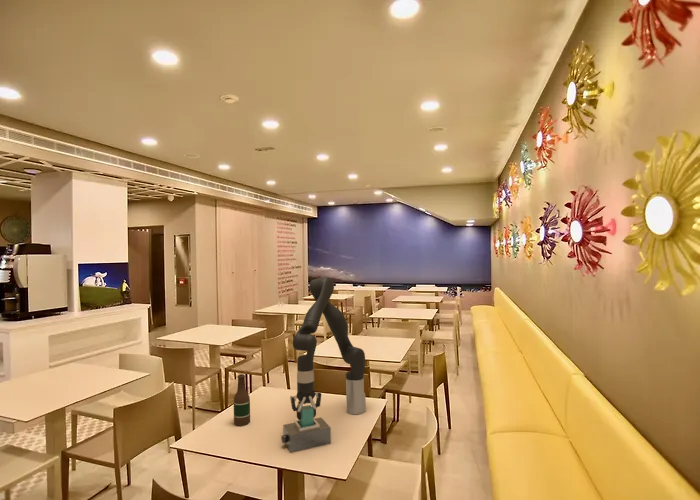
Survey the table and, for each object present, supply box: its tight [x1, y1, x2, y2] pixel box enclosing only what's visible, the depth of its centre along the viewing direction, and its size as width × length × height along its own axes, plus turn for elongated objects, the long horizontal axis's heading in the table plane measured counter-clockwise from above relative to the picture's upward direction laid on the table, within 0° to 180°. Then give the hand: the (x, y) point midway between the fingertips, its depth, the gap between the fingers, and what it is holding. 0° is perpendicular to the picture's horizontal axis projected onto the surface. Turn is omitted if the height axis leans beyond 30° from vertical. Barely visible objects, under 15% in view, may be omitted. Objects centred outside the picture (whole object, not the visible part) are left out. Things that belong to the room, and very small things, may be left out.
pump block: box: [300, 404, 315, 427], centre depth 173 cm, size 5×5×8 cm
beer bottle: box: [233, 373, 251, 427], centre depth 194 cm, size 8×8×24 cm
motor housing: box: [280, 417, 332, 454], centre depth 173 cm, size 20×12×8 cm, turn 114°
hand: (306, 418), depth 173 cm, fingers open, 6 cm apart
